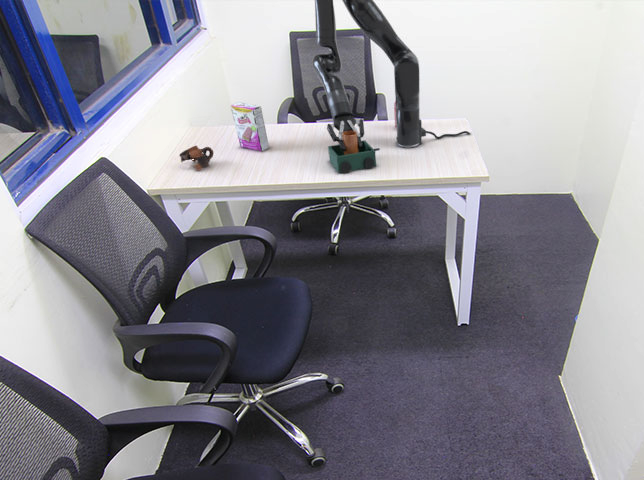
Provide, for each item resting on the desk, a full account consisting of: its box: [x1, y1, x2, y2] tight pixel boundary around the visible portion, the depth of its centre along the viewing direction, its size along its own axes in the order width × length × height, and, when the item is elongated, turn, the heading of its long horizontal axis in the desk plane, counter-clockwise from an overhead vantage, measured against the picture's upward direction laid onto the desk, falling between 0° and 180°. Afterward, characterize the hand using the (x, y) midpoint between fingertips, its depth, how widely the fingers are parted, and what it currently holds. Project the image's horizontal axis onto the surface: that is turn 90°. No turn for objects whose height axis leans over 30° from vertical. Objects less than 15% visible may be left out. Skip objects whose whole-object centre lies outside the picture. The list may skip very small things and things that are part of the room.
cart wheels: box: [340, 147, 381, 174], centre depth 192 cm, size 18×14×4 cm
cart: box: [327, 139, 377, 174], centre depth 190 cm, size 15×12×6 cm
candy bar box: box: [230, 102, 270, 152], centre depth 200 cm, size 11×5×16 cm, turn 65°
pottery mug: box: [179, 145, 215, 172], centre depth 191 cm, size 12×10×8 cm
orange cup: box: [342, 131, 359, 155], centre depth 188 cm, size 5×5×10 cm
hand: (352, 149), depth 187 cm, fingers closed on orange cup, 5 cm apart
